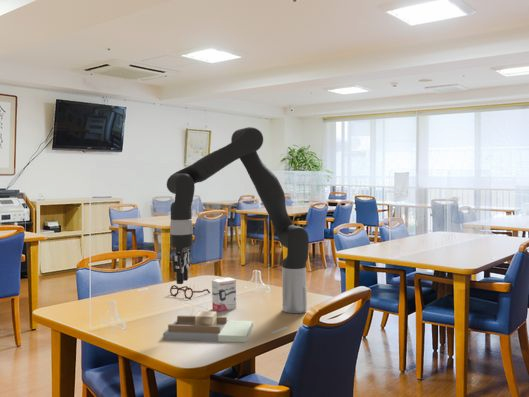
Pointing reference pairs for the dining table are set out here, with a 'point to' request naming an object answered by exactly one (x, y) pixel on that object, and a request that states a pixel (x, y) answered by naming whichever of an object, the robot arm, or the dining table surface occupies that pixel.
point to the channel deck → (208, 330)
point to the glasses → (185, 291)
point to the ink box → (223, 294)
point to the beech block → (206, 318)
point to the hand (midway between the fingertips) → (182, 281)
